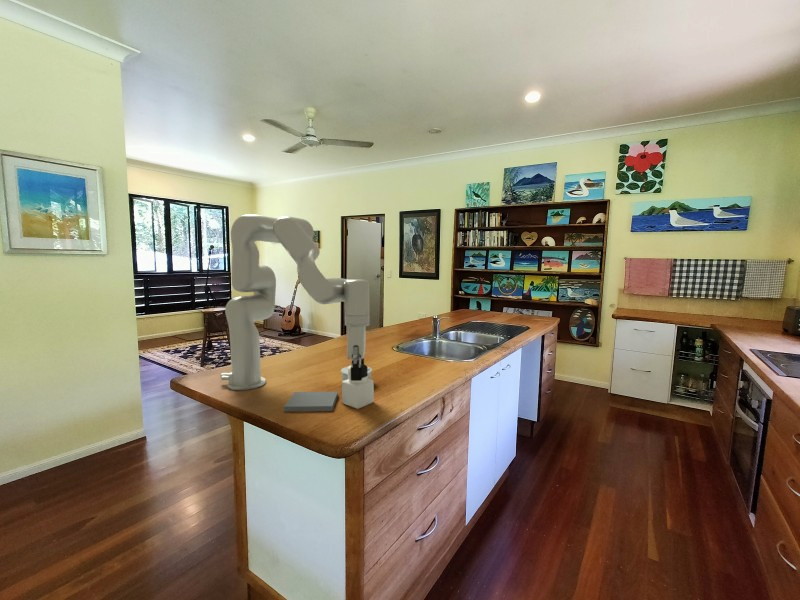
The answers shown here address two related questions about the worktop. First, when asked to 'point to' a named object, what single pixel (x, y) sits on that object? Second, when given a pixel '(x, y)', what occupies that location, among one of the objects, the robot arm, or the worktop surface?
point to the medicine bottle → (358, 390)
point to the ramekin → (345, 373)
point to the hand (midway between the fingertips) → (357, 375)
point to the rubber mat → (311, 401)
